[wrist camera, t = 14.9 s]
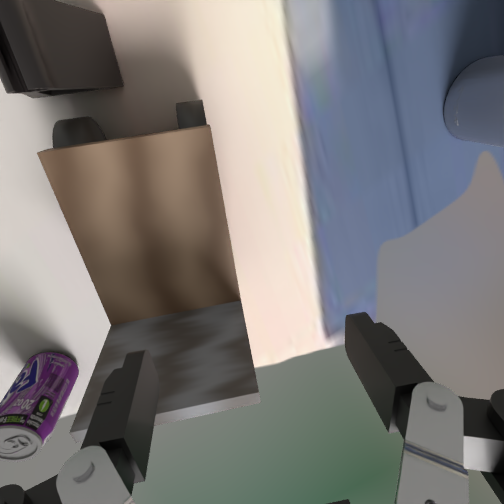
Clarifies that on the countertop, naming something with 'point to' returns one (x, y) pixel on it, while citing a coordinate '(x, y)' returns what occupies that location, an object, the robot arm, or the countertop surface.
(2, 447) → the beverage can
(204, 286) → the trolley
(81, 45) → the phone stand
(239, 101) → the countertop surface
